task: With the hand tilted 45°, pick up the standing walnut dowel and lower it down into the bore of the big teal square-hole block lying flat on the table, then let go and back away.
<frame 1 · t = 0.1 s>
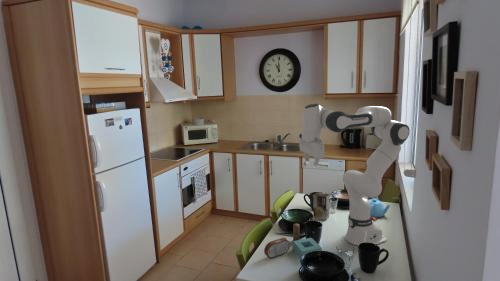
hand: (311, 163, 161), 48 cm above the table, tool pointing down, fingers open, 8 cm apart
teal square-hole block: (306, 253, 166), on the table
tin: (277, 255, 165), on the table
coffee box: (321, 217, 208), on the table
teapot: (373, 214, 212), on the table
walnut dowel: (296, 241, 178), on the table
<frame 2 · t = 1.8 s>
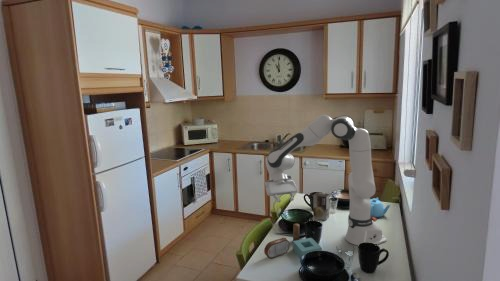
hand: (285, 201, 182), 21 cm above the table, tool tilted 40°, fingers open, 8 cm apart
nothing on the table moved.
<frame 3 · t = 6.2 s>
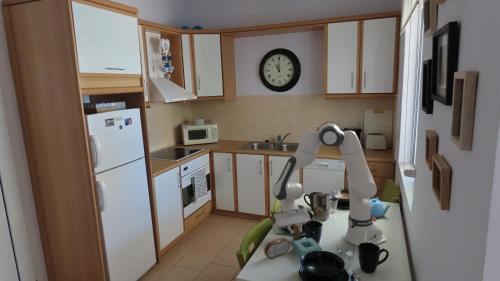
hand: (296, 233, 177), 5 cm above the table, tool tilted 45°, fingers closed on walnut dowel, 3 cm apart
walnut dowel: (296, 241, 178), on the table, touching gripper
everything else where it was.
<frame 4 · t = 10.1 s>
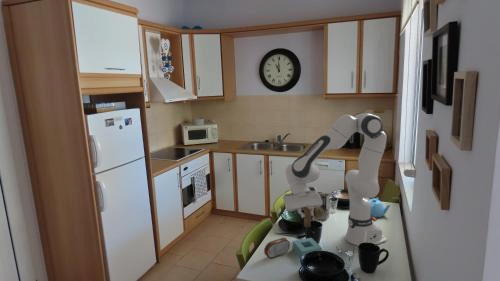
hand: (308, 216, 161), 21 cm above the table, tool tilted 45°, fingers closed on walnut dowel, 3 cm apart
walnut dowel: (307, 225, 163), point 15 cm above the table, touching gripper
everything else where it was.
when the fingers open (7 cm above the table, at t = 14.0 s): walnut dowel drops 2 cm, resting in teal square-hole block.
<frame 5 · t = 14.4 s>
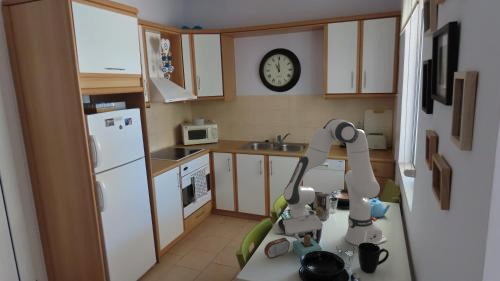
hand: (307, 240, 164), 7 cm above the table, tool tilted 45°, fingers open, 7 cm apart
walnut dowel: (307, 253, 166), resting in teal square-hole block
everything else where it was.
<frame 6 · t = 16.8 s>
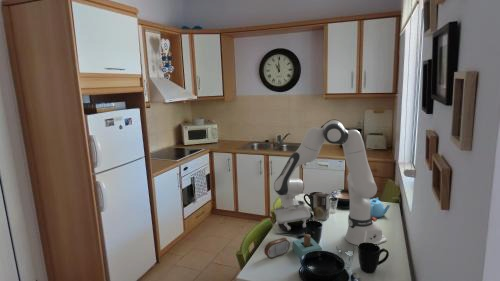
hand: (297, 228, 176), 8 cm above the table, tool tilted 45°, fingers open, 8 cm apart
nothing on the table moved.
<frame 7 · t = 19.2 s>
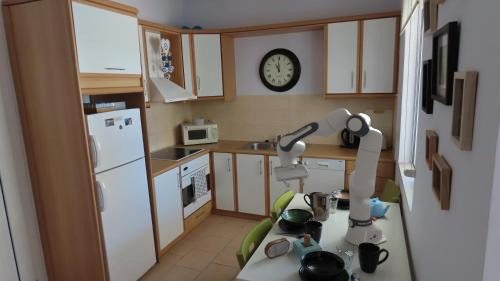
hand: (295, 185, 183), 29 cm above the table, tool tilted 45°, fingers open, 8 cm apart
nothing on the table moved.
at the end: walnut dowel 0.0 cm off-centre on the teal square-hole block, point 0.0 cm above the teal square-hole block's base; walnut dowel tilted 0°; the gripper is holding nothing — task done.
